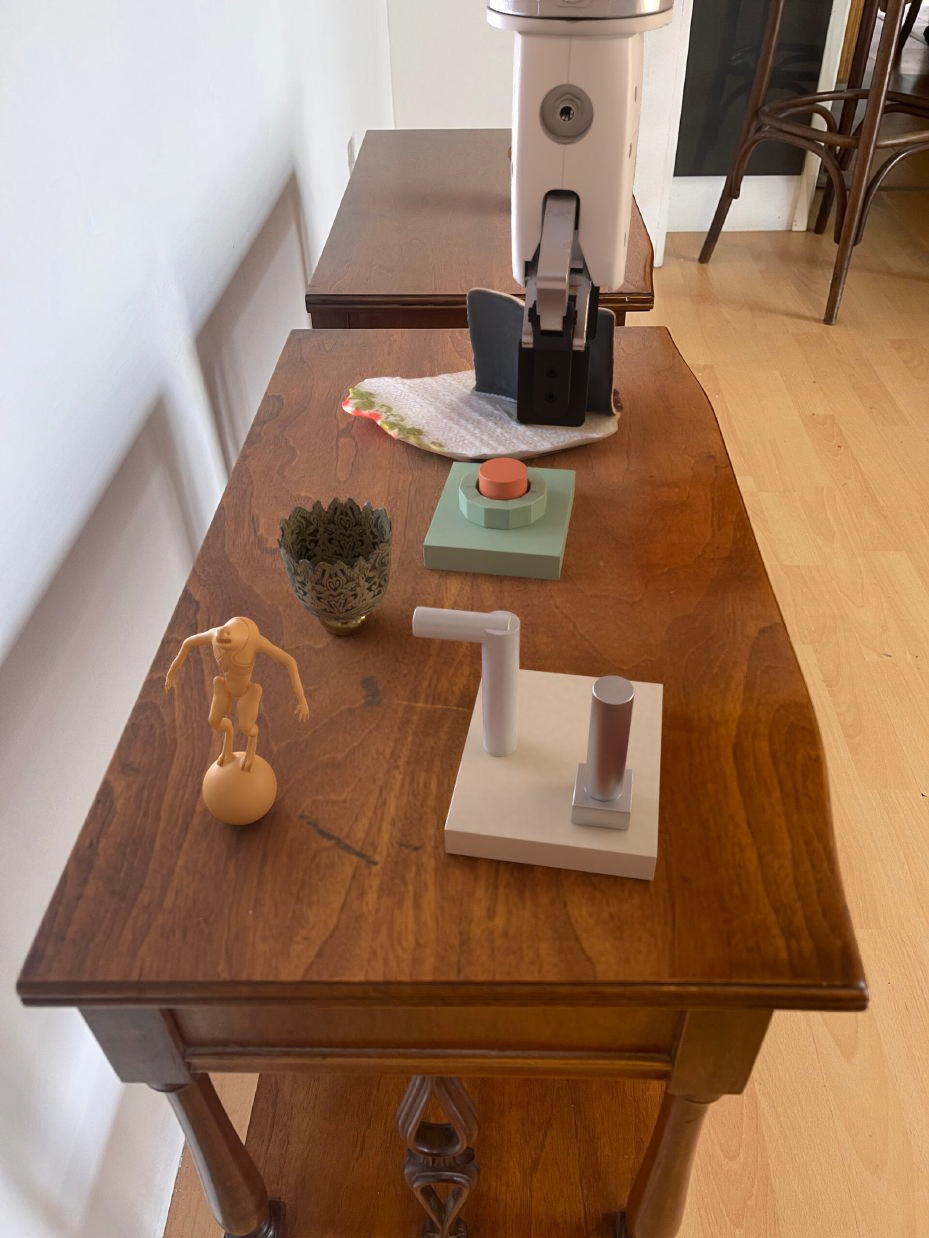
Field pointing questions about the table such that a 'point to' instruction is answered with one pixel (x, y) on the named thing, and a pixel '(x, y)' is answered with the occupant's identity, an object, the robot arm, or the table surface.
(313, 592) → the cup
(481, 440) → the religious ornament
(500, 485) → the button
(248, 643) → the figurine
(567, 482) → the button block
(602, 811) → the tap lever
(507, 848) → the tap base
